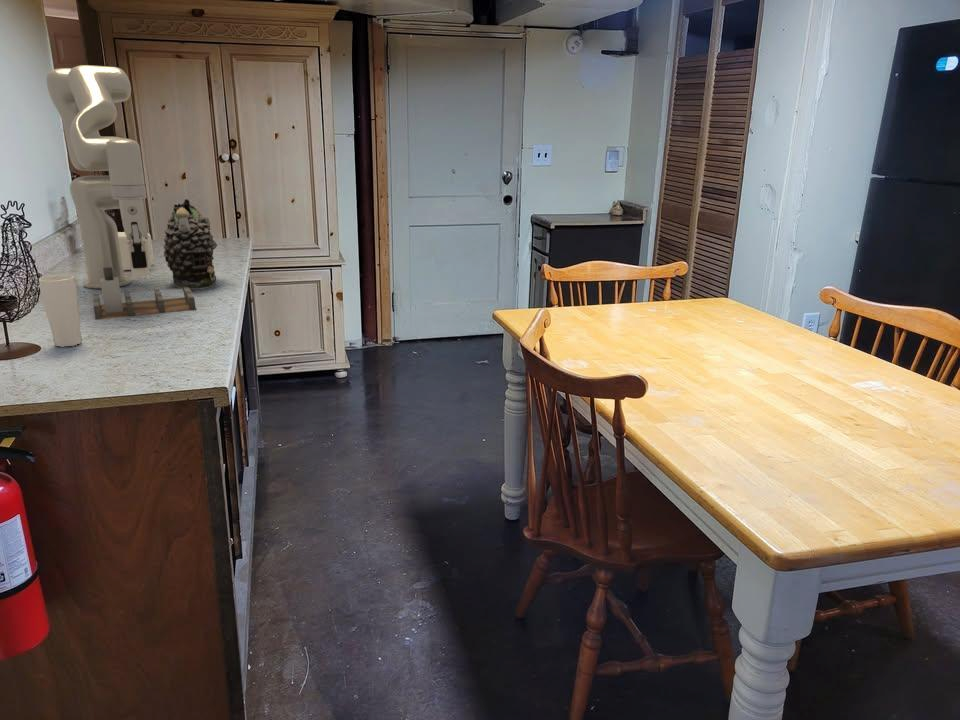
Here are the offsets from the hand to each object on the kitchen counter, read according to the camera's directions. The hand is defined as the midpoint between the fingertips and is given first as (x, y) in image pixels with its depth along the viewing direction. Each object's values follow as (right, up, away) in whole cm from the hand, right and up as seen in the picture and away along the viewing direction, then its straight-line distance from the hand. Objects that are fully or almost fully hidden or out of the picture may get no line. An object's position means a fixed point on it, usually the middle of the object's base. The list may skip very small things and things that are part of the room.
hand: (139, 265), depth 177 cm
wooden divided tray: (0, -12, +4) cm, 12 cm away
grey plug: (-7, -11, 0) cm, 13 cm away
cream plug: (0, -2, +1) cm, 2 cm away
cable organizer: (-31, +6, +56) cm, 64 cm away
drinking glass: (-5, -21, -23) cm, 31 cm away
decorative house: (0, -1, +35) cm, 35 cm away
